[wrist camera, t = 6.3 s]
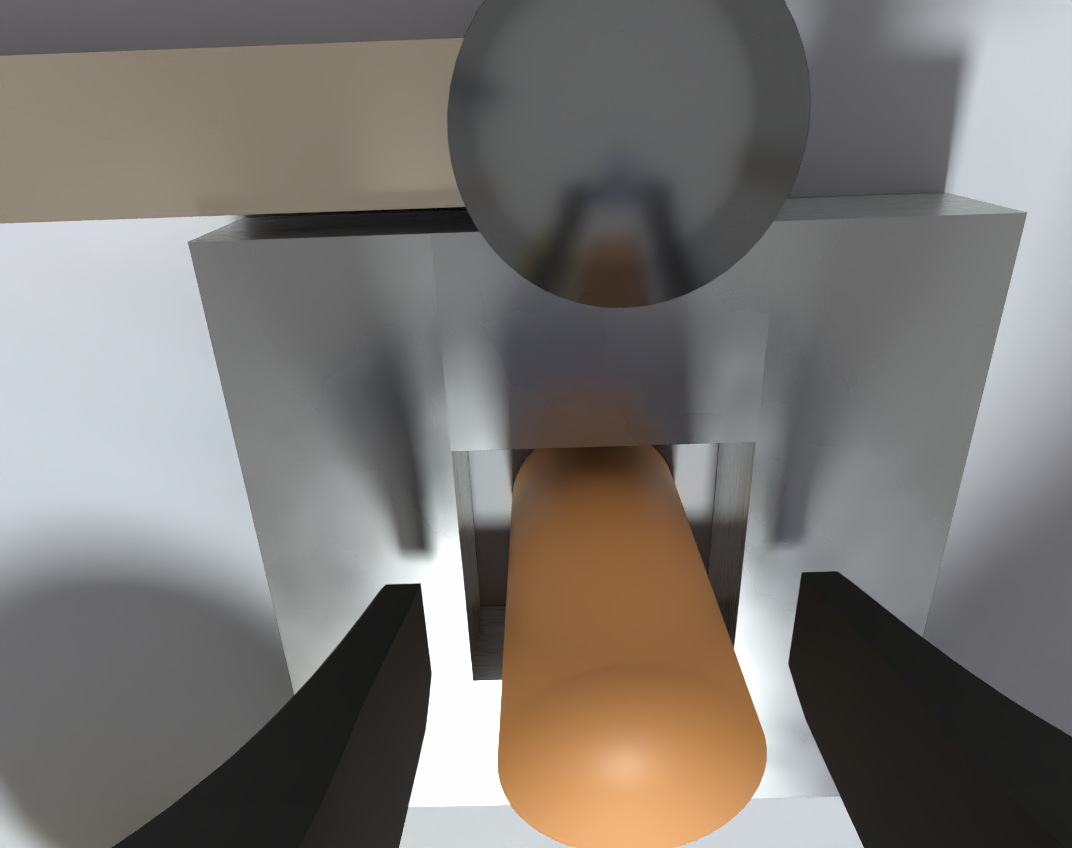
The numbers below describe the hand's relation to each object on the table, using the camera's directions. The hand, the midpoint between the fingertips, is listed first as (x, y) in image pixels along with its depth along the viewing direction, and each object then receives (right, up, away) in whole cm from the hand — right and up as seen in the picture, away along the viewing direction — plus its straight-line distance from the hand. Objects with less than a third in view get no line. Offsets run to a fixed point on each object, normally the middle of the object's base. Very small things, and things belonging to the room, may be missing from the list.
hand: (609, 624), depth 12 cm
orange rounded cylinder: (0, +2, +3) cm, 4 cm away
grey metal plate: (-4, +3, +3) cm, 6 cm away
